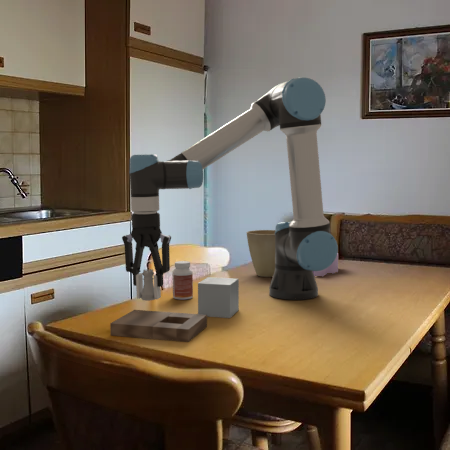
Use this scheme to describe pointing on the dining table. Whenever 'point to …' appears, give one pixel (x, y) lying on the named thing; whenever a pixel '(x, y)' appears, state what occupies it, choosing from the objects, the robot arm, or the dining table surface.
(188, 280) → the pill bottle
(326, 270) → the clip
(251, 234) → the plant pot
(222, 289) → the block
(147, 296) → the rook chess piece
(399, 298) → the dining table surface
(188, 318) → the socket board
